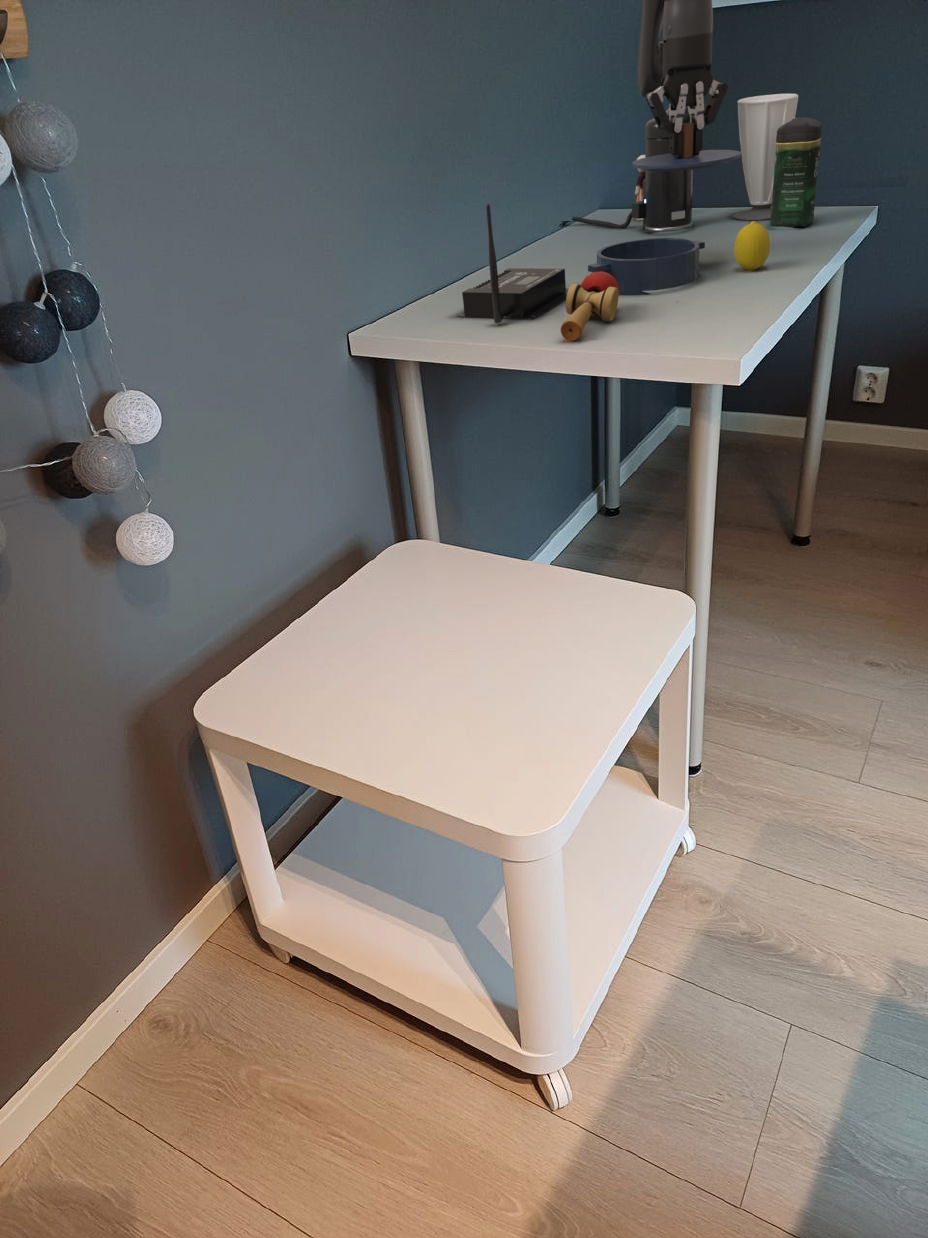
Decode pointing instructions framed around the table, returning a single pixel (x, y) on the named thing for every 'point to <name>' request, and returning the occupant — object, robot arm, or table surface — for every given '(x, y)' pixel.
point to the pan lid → (687, 156)
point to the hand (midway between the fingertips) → (685, 155)
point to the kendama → (590, 302)
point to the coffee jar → (795, 172)
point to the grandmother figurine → (640, 184)
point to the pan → (650, 264)
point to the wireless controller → (514, 290)
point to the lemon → (752, 246)
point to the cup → (761, 147)
